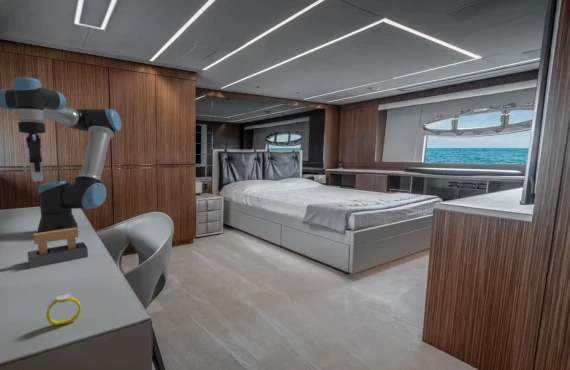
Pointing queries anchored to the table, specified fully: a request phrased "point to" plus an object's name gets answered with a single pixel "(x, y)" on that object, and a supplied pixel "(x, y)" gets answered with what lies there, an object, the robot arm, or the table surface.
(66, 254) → the slotted gray block
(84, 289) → the table surface
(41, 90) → the robot arm
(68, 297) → the watch
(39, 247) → the notched wooden block
